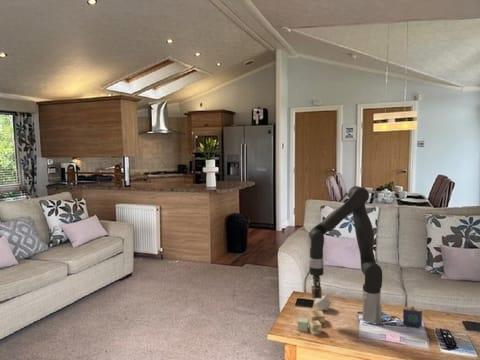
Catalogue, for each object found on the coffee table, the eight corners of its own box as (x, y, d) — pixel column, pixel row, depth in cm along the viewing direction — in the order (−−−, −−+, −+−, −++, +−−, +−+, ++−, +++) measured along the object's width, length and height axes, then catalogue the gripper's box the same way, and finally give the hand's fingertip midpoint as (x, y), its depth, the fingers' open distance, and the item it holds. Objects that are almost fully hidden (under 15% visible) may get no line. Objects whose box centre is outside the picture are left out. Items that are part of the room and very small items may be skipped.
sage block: (308, 327, 196) (308, 318, 196) (307, 331, 191) (307, 322, 191) (299, 326, 198) (299, 317, 197) (297, 330, 193) (297, 321, 192)
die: (327, 315, 211) (334, 299, 213) (313, 307, 212) (321, 291, 214) (324, 314, 219) (331, 298, 221) (310, 306, 220) (318, 291, 222)
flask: (421, 325, 195) (421, 306, 194) (422, 328, 192) (422, 308, 191) (402, 323, 197) (402, 304, 196) (403, 326, 194) (403, 306, 193)
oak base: (321, 319, 205) (321, 310, 205) (324, 325, 198) (324, 316, 198) (309, 319, 205) (309, 311, 205) (311, 325, 198) (311, 316, 198)
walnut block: (320, 294, 202) (320, 285, 202) (321, 298, 197) (321, 289, 197) (311, 294, 203) (311, 285, 202) (312, 298, 198) (312, 289, 198)
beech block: (318, 329, 194) (317, 320, 193) (321, 334, 189) (321, 324, 188) (309, 330, 193) (308, 321, 192) (312, 335, 188) (312, 325, 188)
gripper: (325, 270, 191) (325, 301, 193) (321, 261, 205) (322, 290, 207) (310, 269, 192) (310, 301, 193) (308, 261, 206) (308, 290, 208)
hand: (316, 295), depth 200 cm, fingers closed on walnut block, 5 cm apart
